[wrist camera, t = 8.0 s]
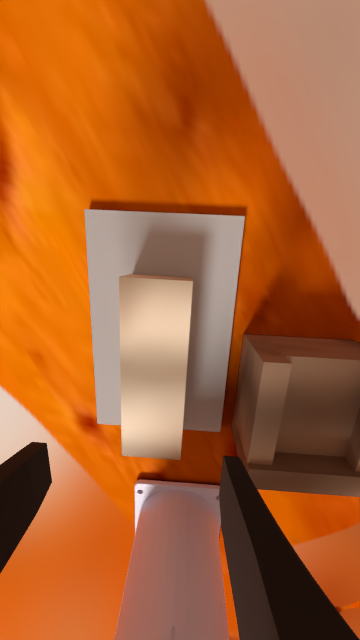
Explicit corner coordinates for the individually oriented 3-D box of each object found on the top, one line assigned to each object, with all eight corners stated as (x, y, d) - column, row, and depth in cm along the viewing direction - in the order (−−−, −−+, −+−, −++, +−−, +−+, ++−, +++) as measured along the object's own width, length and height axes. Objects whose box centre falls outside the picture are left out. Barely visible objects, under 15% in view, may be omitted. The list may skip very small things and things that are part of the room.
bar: (181, 427, 18) (180, 460, 15) (132, 424, 18) (121, 455, 15) (192, 276, 15) (192, 281, 12) (132, 273, 15) (118, 276, 12)
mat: (219, 426, 18) (220, 432, 18) (100, 418, 19) (97, 423, 18) (242, 217, 14) (244, 216, 14) (88, 211, 15) (84, 209, 14)
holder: (329, 435, 18) (379, 498, 13) (231, 428, 18) (246, 488, 14) (354, 340, 16) (425, 375, 11) (243, 334, 16) (266, 365, 11)
